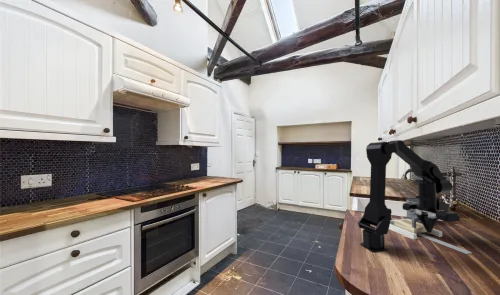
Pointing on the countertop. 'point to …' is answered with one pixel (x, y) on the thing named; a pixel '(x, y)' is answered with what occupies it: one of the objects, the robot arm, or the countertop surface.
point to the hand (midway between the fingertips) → (429, 232)
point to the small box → (412, 212)
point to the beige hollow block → (411, 225)
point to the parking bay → (414, 236)
